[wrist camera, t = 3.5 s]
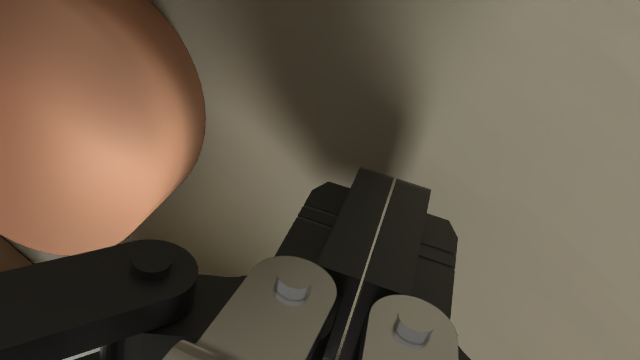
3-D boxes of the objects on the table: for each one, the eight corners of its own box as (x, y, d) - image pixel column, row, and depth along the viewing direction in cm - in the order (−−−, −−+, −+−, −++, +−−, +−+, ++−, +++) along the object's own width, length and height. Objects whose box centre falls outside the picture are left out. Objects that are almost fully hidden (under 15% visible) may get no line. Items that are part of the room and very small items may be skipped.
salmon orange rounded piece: (224, 3, 12) (168, 31, 10) (194, 231, 15) (146, 289, 13) (-27, -70, 13) (-128, -59, 11) (-9, 162, 16) (-85, 206, 14)
